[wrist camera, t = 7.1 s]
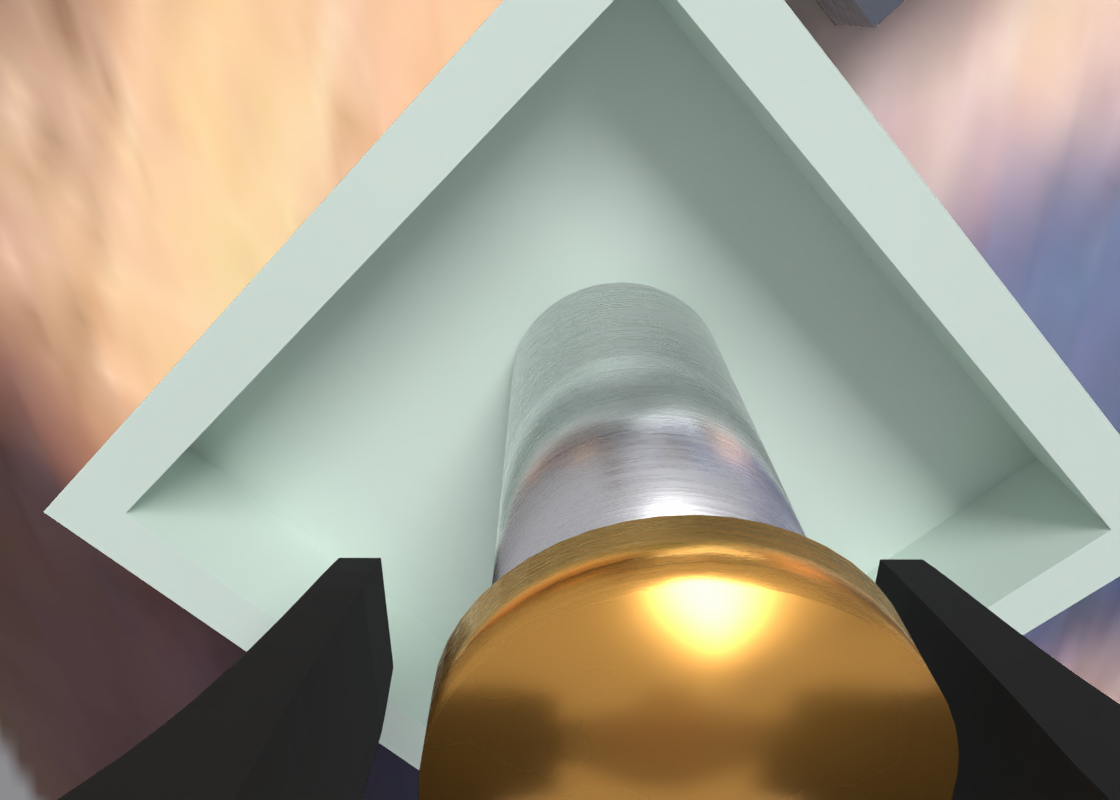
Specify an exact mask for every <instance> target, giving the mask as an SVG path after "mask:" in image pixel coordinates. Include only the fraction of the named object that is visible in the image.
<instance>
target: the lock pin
mask: <svg viewBox="0 0 1120 800" xmlns="http://www.w3.org/2000/svg"><path fill="white" fill-rule="evenodd" d="M958 758H959V748H958V741H957V733H956V727H955V724H954V721H953V718H952V715H951V712H950V709H949V706H948V703H947V701H946V700H945V698H944V696H943V694H942V692H941V691H940V689H939V687H938V685H937V683H936V681H935V680H934V678H933V676H932V674H931V672H930V671H929V669H928V667H927V665H926V663H925V662H924V660H923V658H922V656H921V654H920V653H919V651H918V649H917V647H916V645H915V643H914V642H913V640H912V638H911V636H910V634H909V633H908V631H907V629H906V627H905V625H904V624H903V622H902V620H901V618H900V617H899V615H898V613H897V611H896V610H895V608H894V606H893V605H892V603H891V601H890V600H889V599H888V598H887V596H886V595H885V594H884V593H883V592H882V591H881V589H880V588H879V587H878V586H877V585H876V583H875V582H874V581H873V580H872V579H871V578H869V577H868V576H867V575H866V574H865V573H864V572H863V571H861V570H860V569H859V568H858V567H857V566H856V565H854V564H853V563H852V562H850V561H849V560H847V559H846V558H844V557H843V556H841V555H839V554H838V553H836V552H835V551H833V550H832V549H830V548H828V547H827V546H825V545H822V544H820V543H818V542H816V541H814V540H811V539H809V538H807V537H806V536H805V533H804V531H803V529H802V527H801V525H800V523H799V520H798V518H797V516H796V514H795V512H794V510H793V508H792V505H791V503H790V501H789V499H788V497H787V495H786V492H785V490H784V488H783V486H782V484H781V482H780V479H779V477H778V475H777V473H776V471H775V469H774V466H773V464H772V462H771V460H770V458H769V456H768V454H767V451H766V449H765V447H764V445H763V443H762V441H761V438H760V436H759V434H758V432H757V430H756V428H755V425H754V423H753V421H752V419H751V417H750V415H749V412H748V410H747V408H746V406H745V404H744V402H743V400H742V397H741V395H740V393H739V391H738V389H737V387H736V384H735V382H734V380H733V378H732V376H731V374H730V371H729V369H728V367H727V365H726V363H725V361H724V359H723V356H722V354H721V352H720V350H719V348H718V346H717V343H716V341H715V339H714V337H713V335H712V333H711V332H710V330H709V328H708V327H707V325H706V324H705V322H704V321H703V320H702V319H701V317H700V316H699V315H698V314H697V313H696V312H695V311H694V310H693V309H692V308H691V307H690V306H688V305H687V304H686V303H684V302H683V301H681V300H680V299H678V298H677V297H675V296H673V295H671V294H669V293H667V292H665V291H663V290H660V289H657V288H654V287H651V286H647V285H642V284H637V283H625V282H620V283H606V284H600V285H594V286H591V287H587V288H584V289H581V290H578V291H576V292H574V293H572V294H569V295H567V296H565V297H564V298H562V299H560V300H559V301H557V302H555V303H554V304H553V305H552V306H550V307H549V308H548V309H547V310H545V311H544V312H543V313H542V314H541V315H540V316H539V317H538V318H537V319H536V320H535V321H534V323H533V324H532V325H531V327H530V328H529V330H528V331H527V332H526V334H525V336H524V338H523V340H522V341H521V343H520V346H519V348H518V351H517V354H516V357H515V361H514V366H513V373H512V384H511V394H510V405H509V415H508V425H507V436H506V446H505V457H504V467H503V477H502V488H501V498H500V509H499V519H498V529H497V540H496V550H495V561H494V571H493V581H492V586H491V587H489V588H488V589H487V590H486V591H485V592H484V593H483V594H482V595H481V596H479V598H478V599H477V600H476V601H475V602H474V604H473V605H472V606H471V607H470V608H469V610H468V611H467V612H466V613H465V614H464V616H463V617H462V618H461V619H460V621H459V623H458V624H457V626H456V628H455V629H454V631H453V633H452V634H451V636H450V638H449V639H448V641H447V643H446V646H445V648H444V651H443V653H442V656H441V658H440V661H439V663H438V666H437V671H436V676H435V681H434V685H433V691H432V697H431V703H430V709H429V715H428V721H427V727H426V733H425V739H424V745H423V751H422V757H421V763H420V769H419V800H951V799H952V795H953V791H954V787H955V783H956V779H957V774H958Z"/></svg>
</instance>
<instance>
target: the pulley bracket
mask: <svg viewBox="0 0 1120 800" xmlns="http://www.w3.org/2000/svg"><path fill="white" fill-rule="evenodd" d="M903 1H904V0H817V2H818V3H819V4H820V6H821V7H822V8H823V10H824V11H825V12H826V14H827V15H828V16H829V18H830V19H831V20H832V22H833V23H834V24H835V25H843V26H860V27H876V26H877V25H878V24H879V23H880V22H881V21H882V20H883V19H884V18H885V17H886V16H888V15H889V14H890V13H891V12H892V11H893V10H894V9H895V8H896V7H897V6H898V5H900V4H901V3H902V2H903Z"/></svg>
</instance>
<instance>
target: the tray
mask: <svg viewBox="0 0 1120 800" xmlns="http://www.w3.org/2000/svg"><path fill="white" fill-rule="evenodd" d="M620 282H625V283H637V284H642V285H647V286H651V287H654V288H657V289H660V290H663V291H665V292H667V293H669V294H671V295H673V296H675V297H677V298H678V299H680V300H681V301H683V302H684V303H686V304H687V305H688V306H690V307H691V308H692V309H693V310H694V311H695V312H696V313H697V314H698V315H699V316H700V317H701V319H702V320H703V321H704V322H705V324H706V325H707V327H708V328H709V330H710V332H711V333H712V335H713V337H714V339H715V341H716V343H717V346H718V348H719V350H720V352H721V354H722V356H723V359H724V361H725V363H726V365H727V367H728V369H729V371H730V374H731V376H732V378H733V380H734V382H735V384H736V387H737V389H738V391H739V393H740V395H741V397H742V400H743V402H744V404H745V406H746V408H747V410H748V412H749V415H750V417H751V419H752V421H753V423H754V425H755V428H756V430H757V432H758V434H759V436H760V438H761V441H762V443H763V445H764V447H765V449H766V451H767V454H768V456H769V458H770V460H771V462H772V464H773V466H774V469H775V471H776V473H777V475H778V477H779V479H780V482H781V484H782V486H783V488H784V490H785V492H786V495H787V497H788V499H789V501H790V503H791V505H792V508H793V510H794V512H795V514H796V516H797V518H798V520H799V523H800V525H801V527H802V529H803V531H804V533H805V536H806V537H807V538H809V539H811V540H814V541H816V542H818V543H820V544H822V545H825V546H827V547H828V548H830V549H832V550H833V551H835V552H836V553H838V554H839V555H841V556H843V557H844V558H846V559H847V560H849V561H850V562H852V563H853V564H854V565H856V566H857V567H858V568H859V569H860V570H861V571H863V572H864V573H865V574H866V575H867V576H868V577H869V578H871V579H872V580H873V581H874V582H876V577H877V572H878V567H879V562H880V559H923V560H924V561H926V562H927V563H928V564H930V565H931V566H933V567H934V568H936V569H937V570H938V571H940V572H941V573H942V574H944V575H945V576H946V577H948V578H949V579H950V580H952V581H953V582H954V583H955V584H957V585H958V586H959V587H961V588H962V589H963V590H965V591H966V592H967V593H968V594H970V595H971V596H972V597H974V598H975V599H976V600H977V601H979V602H980V603H981V604H983V605H984V606H985V607H986V608H988V609H989V610H990V611H992V612H993V613H994V614H995V615H997V616H998V617H999V618H1001V619H1002V620H1003V621H1004V622H1006V623H1007V624H1008V625H1010V626H1011V627H1012V628H1014V629H1015V630H1016V631H1018V632H1019V633H1020V634H1021V635H1024V634H1026V633H1027V632H1029V631H1030V630H1032V629H1034V628H1035V627H1037V626H1039V625H1040V624H1042V623H1044V622H1045V621H1047V620H1049V619H1050V618H1052V617H1053V616H1055V615H1057V614H1058V613H1060V612H1062V611H1063V610H1065V609H1067V608H1068V607H1070V606H1072V605H1073V604H1075V603H1076V602H1078V601H1080V600H1081V599H1083V598H1085V597H1086V596H1088V595H1090V594H1091V593H1093V592H1094V591H1096V590H1098V589H1099V588H1101V587H1103V586H1104V585H1106V584H1108V583H1109V582H1111V581H1113V580H1114V579H1116V578H1117V577H1119V576H1120V435H1119V434H1118V432H1117V431H1116V430H1115V428H1114V427H1113V426H1112V425H1111V423H1110V422H1109V421H1108V419H1107V418H1106V417H1105V415H1104V414H1103V413H1102V412H1101V410H1100V409H1099V408H1098V406H1097V405H1096V404H1095V402H1094V401H1093V400H1092V399H1091V397H1090V396H1089V395H1088V393H1087V392H1086V391H1085V390H1084V388H1083V387H1082V386H1081V384H1080V383H1079V382H1078V380H1077V379H1076V378H1075V377H1074V375H1073V374H1072V373H1071V371H1070V370H1069V369H1068V367H1067V366H1066V365H1065V364H1064V362H1063V361H1062V360H1061V358H1060V357H1059V356H1058V355H1057V353H1056V352H1055V351H1054V349H1053V348H1052V347H1051V345H1050V344H1049V343H1048V342H1047V340H1046V339H1045V338H1044V336H1043V335H1042V334H1041V332H1040V331H1039V330H1038V329H1037V327H1036V326H1035V325H1034V323H1033V322H1032V321H1031V319H1030V318H1029V317H1028V316H1027V314H1026V313H1025V312H1024V310H1023V309H1022V308H1021V307H1020V305H1019V304H1018V303H1017V301H1016V300H1015V299H1014V297H1013V296H1012V295H1011V294H1010V292H1009V291H1008V290H1007V288H1006V287H1005V286H1004V284H1003V283H1002V282H1001V281H1000V279H999V278H998V277H997V275H996V274H995V273H994V272H993V270H992V269H991V268H990V266H989V265H988V264H987V262H986V261H985V260H984V259H983V257H982V256H981V255H980V253H979V252H978V251H977V249H976V248H975V247H974V246H973V244H972V243H971V242H970V240H969V239H968V238H967V236H966V235H965V234H964V233H963V231H962V230H961V229H960V227H959V226H958V225H957V224H956V222H955V221H954V220H953V218H952V217H951V216H950V214H949V213H948V212H947V211H946V209H945V208H944V207H943V205H942V204H941V203H940V201H939V200H938V199H937V198H936V196H935V195H934V194H933V192H932V191H931V190H930V189H929V187H928V186H927V185H926V183H925V182H924V181H923V179H922V178H921V177H920V176H919V174H918V173H917V172H916V170H915V169H914V168H913V166H912V165H911V164H910V163H909V161H908V160H907V159H906V157H905V156H904V155H903V153H902V152H901V151H900V150H899V148H898V147H897V146H896V144H895V143H894V142H893V141H892V139H891V138H890V137H889V135H888V134H887V133H886V131H885V130H884V129H883V128H882V126H881V125H880V124H879V122H878V121H877V120H876V118H875V117H874V116H873V115H872V113H871V112H870V111H869V109H868V108H867V107H866V106H865V104H864V103H863V102H862V100H861V99H860V98H859V96H858V95H857V94H856V93H855V91H854V90H853V89H852V87H851V86H850V85H849V83H848V82H847V81H846V80H845V78H844V77H843V76H842V74H841V73H840V72H839V70H838V69H837V68H836V67H835V65H834V64H833V63H832V61H831V60H830V59H829V58H828V56H827V55H826V54H825V52H824V51H823V50H822V48H821V47H820V46H819V45H818V43H817V42H816V41H815V39H814V38H813V37H812V35H811V34H810V33H809V32H808V30H807V29H806V28H805V26H804V25H803V24H802V22H801V21H800V20H799V19H798V17H797V16H796V15H795V13H794V12H793V11H792V10H791V8H790V7H789V6H788V4H787V3H786V2H785V0H504V1H503V2H502V3H501V4H500V5H499V6H498V7H497V8H496V10H495V11H494V12H493V13H492V14H491V15H490V16H489V17H488V18H487V20H486V21H485V22H484V23H483V24H482V25H481V26H480V27H479V28H478V30H477V31H476V32H475V33H474V34H473V35H472V36H471V37H470V38H469V40H468V41H467V42H466V43H465V44H464V45H463V46H462V47H461V48H460V50H459V51H458V52H457V53H456V54H455V55H454V56H453V57H452V58H451V60H450V61H449V62H448V63H447V64H446V65H445V66H444V67H443V68H442V70H441V71H440V72H439V73H438V74H437V75H436V76H435V77H434V78H433V80H432V81H431V82H430V83H429V84H428V85H427V86H426V87H425V88H424V90H423V91H422V92H421V93H420V94H419V95H418V96H417V97H416V98H415V100H414V101H413V102H412V103H411V104H410V105H409V106H408V107H407V108H406V110H405V111H404V112H403V113H402V114H401V115H400V116H399V117H398V118H397V120H396V121H395V122H394V123H393V124H392V125H391V126H390V127H389V128H388V130H387V131H386V132H385V133H384V134H383V135H382V136H381V137H380V138H379V140H378V141H377V142H376V143H375V144H374V145H373V146H372V147H371V148H370V150H369V151H368V152H367V153H366V154H365V155H364V156H363V157H362V158H361V160H360V161H359V162H358V163H357V164H356V165H355V166H354V167H353V168H352V170H351V171H350V172H349V173H348V174H347V175H346V176H345V177H344V178H343V180H342V181H341V182H340V183H339V184H338V185H337V186H336V187H335V188H334V190H333V191H332V192H331V193H330V194H329V195H328V196H327V197H326V198H325V200H324V201H323V202H322V203H321V204H320V205H319V206H318V207H317V208H316V210H315V211H314V212H313V213H312V214H311V215H310V216H309V217H308V218H307V220H306V221H305V222H304V223H303V224H302V225H301V226H300V227H299V228H298V230H297V231H296V232H295V233H294V234H293V235H292V236H291V237H290V238H289V240H288V241H287V242H286V243H285V244H284V245H283V246H282V247H281V248H280V250H279V251H278V252H277V253H276V254H275V255H274V256H273V257H272V258H271V260H270V261H269V262H268V263H267V264H266V265H265V266H264V267H263V268H262V270H261V271H260V272H259V273H258V274H257V275H256V276H255V277H254V278H253V280H252V281H251V282H250V283H249V284H248V285H247V286H246V287H245V288H244V290H243V291H242V292H241V293H240V294H239V295H238V296H237V297H236V298H235V300H234V301H233V302H232V303H231V304H230V305H229V306H228V307H227V308H226V310H225V311H224V312H223V313H222V314H221V315H220V316H219V317H218V318H217V320H216V321H215V322H214V323H213V324H212V325H211V326H210V327H209V328H208V330H207V331H206V332H205V333H204V334H203V335H202V336H201V337H200V338H199V340H198V341H197V342H196V343H195V344H194V345H193V346H192V347H191V348H190V350H189V351H188V352H187V353H186V354H185V355H184V356H183V357H182V358H181V360H180V361H179V362H178V363H177V364H176V365H175V366H174V367H173V368H172V370H171V371H170V372H169V373H168V374H167V375H166V376H165V377H164V378H163V380H162V381H161V382H160V383H159V384H158V385H157V386H156V387H155V388H154V390H153V391H152V392H151V393H150V394H149V395H148V396H147V397H146V398H145V400H144V401H143V402H142V403H141V404H140V405H139V406H138V407H137V408H136V410H135V411H134V412H133V413H132V414H131V415H130V416H129V417H128V418H127V420H126V421H125V422H124V423H123V424H122V425H121V426H120V427H119V428H118V430H117V431H116V432H115V433H114V434H113V435H112V436H111V437H110V438H109V440H108V441H107V442H106V443H105V444H104V445H103V446H102V447H101V448H100V450H99V451H98V452H97V453H96V454H95V455H94V456H93V457H92V458H91V460H90V461H89V462H88V463H87V464H86V465H85V466H84V467H83V468H82V470H81V471H80V472H79V473H78V474H77V475H76V476H75V477H74V478H73V480H72V481H71V482H70V483H69V484H68V485H67V486H66V487H65V488H64V490H63V491H62V492H61V493H60V494H59V495H58V496H57V497H56V498H55V500H54V501H53V502H52V503H51V504H50V505H49V506H48V507H47V508H46V510H45V511H44V513H46V514H47V515H49V516H50V517H52V518H53V519H55V520H56V521H57V522H59V523H60V524H62V525H63V526H65V527H66V528H68V529H69V530H70V531H72V532H73V533H75V534H76V535H78V536H79V537H81V538H82V539H84V540H85V541H86V542H88V543H89V544H91V545H92V546H94V547H95V548H97V549H98V550H100V551H101V552H102V553H104V554H105V555H107V556H108V557H110V558H111V559H113V560H114V561H116V562H117V563H118V564H120V565H121V566H123V567H124V568H126V569H127V570H129V571H130V572H132V573H133V574H134V575H136V576H137V577H139V578H140V579H142V580H143V581H145V582H146V583H147V584H149V585H150V586H152V587H153V588H155V589H156V590H158V591H159V592H161V593H162V594H163V595H165V596H166V597H168V598H169V599H171V600H172V601H174V602H175V603H177V604H178V605H179V606H181V607H182V608H184V609H185V610H187V611H188V612H190V613H191V614H193V615H194V616H195V617H197V618H198V619H200V620H201V621H203V622H204V623H206V624H207V625H209V626H210V627H211V628H213V629H214V630H216V631H217V632H219V633H220V634H222V635H223V636H224V637H226V638H227V639H229V640H230V641H232V642H233V643H235V644H236V645H238V646H239V647H240V648H242V649H243V650H245V651H246V652H247V651H248V650H249V649H250V648H251V647H252V646H253V645H254V644H255V643H256V642H257V641H258V640H259V639H260V638H261V637H262V636H263V635H264V634H265V633H266V632H267V631H268V630H269V629H270V628H271V627H272V626H273V625H274V624H275V623H276V622H277V621H278V620H279V619H280V618H281V617H282V616H283V615H284V614H285V613H286V612H287V611H288V610H289V609H290V608H291V607H292V606H293V605H294V604H295V603H296V602H297V601H298V600H299V598H300V597H301V596H302V595H303V594H304V593H305V592H306V591H307V590H308V589H309V588H310V587H311V586H312V585H313V584H314V583H315V582H316V581H317V579H318V578H319V577H320V576H321V575H322V574H323V573H324V572H325V571H326V570H327V569H328V568H329V567H330V566H331V565H332V564H333V563H334V562H335V561H336V560H337V559H338V558H381V563H382V572H383V580H384V589H385V598H386V606H387V615H388V624H389V632H390V641H391V650H392V658H393V673H392V678H391V684H390V690H389V696H388V702H387V707H386V712H385V718H384V723H383V728H382V733H381V737H380V740H379V743H380V744H381V745H383V746H384V747H386V748H387V749H389V750H390V751H392V752H393V753H394V754H396V755H397V756H399V757H400V758H402V759H403V760H405V761H406V762H408V763H409V764H410V765H412V766H413V767H415V768H416V769H418V770H419V769H420V763H421V757H422V751H423V745H424V739H425V733H426V727H427V721H428V715H429V709H430V703H431V697H432V691H433V685H434V681H435V676H436V671H437V666H438V663H439V661H440V658H441V656H442V653H443V651H444V648H445V646H446V643H447V641H448V639H449V638H450V636H451V634H452V633H453V631H454V629H455V628H456V626H457V624H458V623H459V621H460V619H461V618H462V617H463V616H464V614H465V613H466V612H467V611H468V610H469V608H470V607H471V606H472V605H473V604H474V602H475V601H476V600H477V599H478V598H479V596H481V595H482V594H483V593H484V592H485V591H486V590H487V589H488V588H489V587H491V586H492V581H493V571H494V561H495V550H496V540H497V529H498V519H499V509H500V498H501V488H502V477H503V467H504V457H505V446H506V436H507V425H508V415H509V405H510V394H511V384H512V373H513V366H514V361H515V357H516V354H517V351H518V348H519V346H520V343H521V341H522V340H523V338H524V336H525V334H526V332H527V331H528V330H529V328H530V327H531V325H532V324H533V323H534V321H535V320H536V319H537V318H538V317H539V316H540V315H541V314H542V313H543V312H544V311H545V310H547V309H548V308H549V307H550V306H552V305H553V304H554V303H555V302H557V301H559V300H560V299H562V298H564V297H565V296H567V295H569V294H572V293H574V292H576V291H578V290H581V289H584V288H587V287H591V286H594V285H600V284H606V283H620Z"/></svg>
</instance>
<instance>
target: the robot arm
mask: <svg viewBox="0 0 1120 800" xmlns="http://www.w3.org/2000/svg"><path fill="white" fill-rule="evenodd" d="M875 583H876V585H877V586H878V587H879V588H880V589H881V591H882V592H883V593H884V594H885V595H886V596H887V598H888V599H889V600H890V601H891V603H892V605H893V606H894V608H895V610H896V611H897V613H898V615H899V617H900V618H901V620H902V622H903V624H904V625H905V627H906V629H907V631H908V633H909V634H910V636H911V638H912V640H913V642H914V643H915V645H916V647H917V649H918V651H919V653H920V654H921V656H922V658H923V660H924V662H925V663H926V665H927V667H928V669H929V671H930V672H931V674H932V676H933V678H934V680H935V681H936V683H937V685H938V687H939V689H940V691H941V692H942V694H943V696H944V698H945V700H946V701H947V703H948V706H949V709H950V712H951V715H952V718H953V721H954V724H955V727H956V733H957V741H958V748H959V758H958V774H957V779H956V783H955V787H954V791H953V795H952V799H951V800H1120V704H1118V703H1117V702H1115V701H1114V700H1112V699H1111V698H1109V697H1108V696H1107V695H1105V694H1104V693H1102V692H1101V691H1099V690H1098V689H1096V688H1095V687H1093V686H1092V685H1090V684H1089V683H1087V682H1086V681H1085V680H1083V679H1082V678H1080V677H1079V676H1077V675H1076V674H1075V673H1073V672H1072V671H1070V670H1069V669H1068V668H1066V667H1065V666H1063V665H1062V664H1061V663H1059V662H1058V661H1056V660H1055V659H1054V658H1052V657H1051V656H1050V655H1048V654H1047V653H1046V652H1044V651H1043V650H1041V649H1040V648H1039V647H1037V646H1036V645H1035V644H1033V643H1032V642H1031V641H1029V640H1028V639H1027V638H1025V637H1024V636H1023V635H1021V634H1020V633H1019V632H1018V631H1016V630H1015V629H1014V628H1012V627H1011V626H1010V625H1008V624H1007V623H1006V622H1004V621H1003V620H1002V619H1001V618H999V617H998V616H997V615H995V614H994V613H993V612H992V611H990V610H989V609H988V608H986V607H985V606H984V605H983V604H981V603H980V602H979V601H977V600H976V599H975V598H974V597H972V596H971V595H970V594H968V593H967V592H966V591H965V590H963V589H962V588H961V587H959V586H958V585H957V584H955V583H954V582H953V581H952V580H950V579H949V578H948V577H946V576H945V575H944V574H942V573H941V572H940V571H938V570H937V569H936V568H934V567H933V566H931V565H930V564H928V563H927V562H926V561H924V560H923V559H880V562H879V567H878V572H877V577H876V582H875ZM392 673H393V658H392V650H391V641H390V632H389V624H388V615H387V606H386V598H385V589H384V580H383V572H382V563H381V558H338V559H337V560H336V561H335V562H334V563H333V564H332V565H331V566H330V567H329V568H328V569H327V570H326V571H325V572H324V573H323V574H322V575H321V576H320V577H319V578H318V579H317V581H316V582H315V583H314V584H313V585H312V586H311V587H310V588H309V589H308V590H307V591H306V592H305V593H304V594H303V595H302V596H301V597H300V598H299V600H298V601H297V602H296V603H295V604H294V605H293V606H292V607H291V608H290V609H289V610H288V611H287V612H286V613H285V614H284V615H283V616H282V617H281V618H280V619H279V620H278V621H277V622H276V623H275V624H274V625H273V626H272V627H271V628H270V629H269V630H268V631H267V632H266V633H265V634H264V635H263V636H262V637H261V638H260V639H259V640H258V641H257V642H256V643H255V644H254V645H253V646H252V647H251V648H250V649H249V650H248V651H247V652H246V653H245V654H244V655H243V656H242V657H241V658H240V659H239V660H238V661H236V662H235V663H234V664H233V665H232V666H231V667H230V668H229V669H228V670H227V671H225V672H224V673H223V674H222V675H221V676H220V677H219V678H218V679H217V680H215V681H214V682H213V683H212V684H211V685H210V686H209V687H208V688H207V689H205V690H204V691H203V692H202V693H201V694H200V695H199V696H198V697H197V698H195V699H194V700H193V701H192V702H191V703H190V704H188V705H187V706H186V707H185V708H184V709H182V710H181V711H180V712H179V713H178V714H176V715H175V716H174V717H173V718H171V719H170V720H169V721H168V722H166V723H165V724H164V725H163V726H161V727H160V728H159V729H157V730H156V731H155V732H153V733H152V734H151V735H149V736H148V737H147V738H145V739H144V740H143V741H142V742H140V743H139V744H138V745H136V746H135V747H134V748H132V749H131V750H130V751H128V752H127V753H126V754H124V755H123V756H121V757H120V758H119V759H117V760H116V761H114V762H113V763H111V764H110V765H108V766H107V767H105V768H104V769H102V770H101V771H99V772H98V773H96V774H95V775H94V776H92V777H91V778H89V779H88V780H86V781H85V782H83V783H82V784H80V785H79V786H77V787H76V788H74V789H73V790H71V791H70V792H68V793H67V794H65V795H64V796H62V797H61V798H59V799H58V800H361V799H362V796H363V793H364V790H365V786H366V783H367V780H368V776H369V773H370V770H371V767H372V763H373V760H374V757H375V753H376V750H377V747H378V743H379V740H380V737H381V733H382V728H383V723H384V718H385V712H386V707H387V702H388V696H389V690H390V684H391V678H392Z"/></svg>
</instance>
